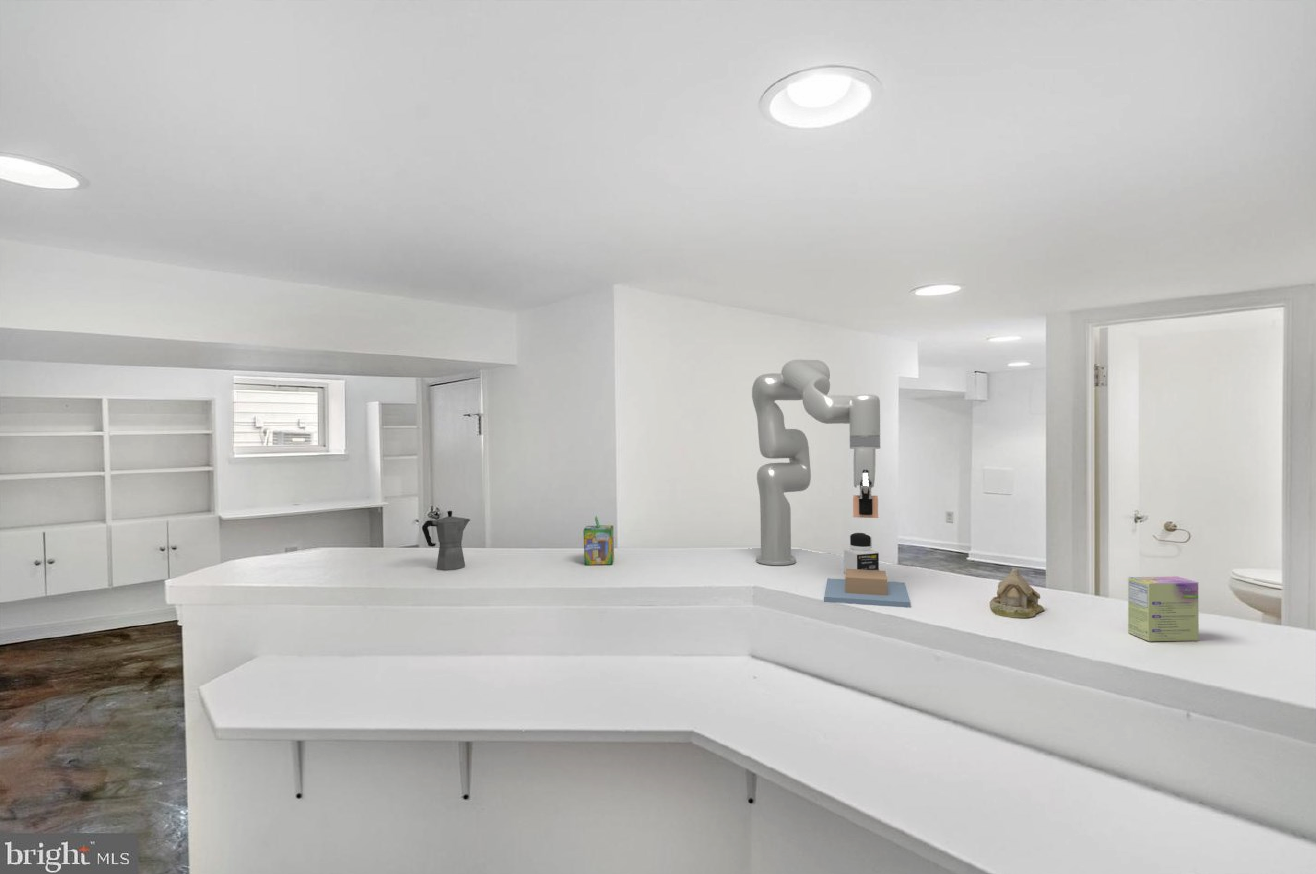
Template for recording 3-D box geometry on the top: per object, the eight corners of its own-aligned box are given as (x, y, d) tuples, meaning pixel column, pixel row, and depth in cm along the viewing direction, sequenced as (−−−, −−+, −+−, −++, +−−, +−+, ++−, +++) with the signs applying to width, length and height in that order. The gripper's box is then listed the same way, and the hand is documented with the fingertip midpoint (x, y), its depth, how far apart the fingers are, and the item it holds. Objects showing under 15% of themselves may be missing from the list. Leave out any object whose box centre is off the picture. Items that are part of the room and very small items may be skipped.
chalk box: (612, 565, 206) (611, 518, 206) (583, 565, 206) (582, 519, 206) (615, 559, 215) (614, 514, 215) (587, 559, 215) (586, 515, 215)
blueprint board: (827, 582, 180) (827, 563, 180) (904, 587, 174) (904, 567, 174) (824, 601, 161) (823, 580, 161) (910, 607, 155) (910, 585, 155)
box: (1175, 632, 135) (1175, 575, 134) (1199, 641, 129) (1199, 582, 129) (1126, 633, 134) (1126, 576, 134) (1148, 642, 129) (1148, 583, 128)
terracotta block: (853, 514, 171) (853, 495, 171) (877, 514, 169) (877, 495, 169) (853, 517, 165) (853, 497, 165) (878, 518, 163) (877, 498, 163)
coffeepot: (464, 562, 214) (463, 507, 213) (476, 566, 207) (475, 510, 206) (417, 569, 204) (416, 512, 204) (428, 574, 197) (427, 515, 196)
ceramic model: (991, 600, 161) (991, 560, 160) (1044, 606, 155) (1044, 565, 154) (985, 615, 149) (985, 571, 148) (1042, 622, 143) (1042, 577, 142)
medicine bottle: (857, 578, 184) (857, 536, 184) (843, 573, 191) (843, 532, 191) (879, 576, 186) (879, 534, 186) (865, 571, 193) (864, 531, 193)
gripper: (850, 442, 176) (850, 508, 176) (849, 444, 160) (850, 517, 160) (879, 442, 174) (879, 509, 174) (881, 443, 157) (882, 518, 158)
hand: (865, 512), depth 167 cm, fingers closed on terracotta block, 6 cm apart
